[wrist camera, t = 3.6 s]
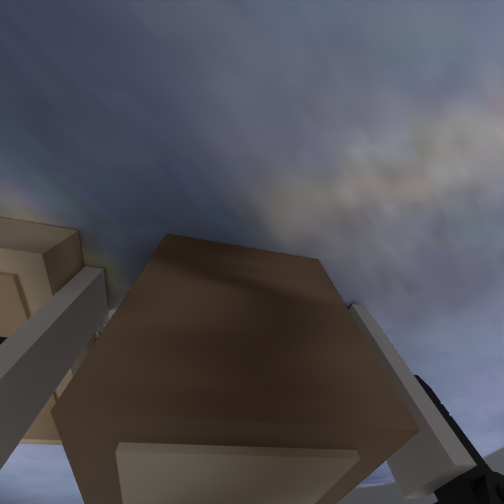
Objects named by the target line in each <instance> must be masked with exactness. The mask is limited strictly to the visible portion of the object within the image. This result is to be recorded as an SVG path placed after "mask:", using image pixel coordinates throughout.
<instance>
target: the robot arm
mask: <svg viewBox="0 0 504 504" xmlns="http://www.w3.org/2000/svg"><path fill="white" fill-rule="evenodd" d="M349 311H350V313H351V315H352V316H353V318H354V320H355V321H356V323H357V325H358V326H359V328H360V330H361V331H362V333H363V335H364V336H365V338H366V340H367V341H368V343H369V345H370V346H371V348H372V350H373V351H374V353H375V355H376V356H377V358H378V360H379V361H380V363H381V365H382V366H383V368H384V370H385V371H386V373H387V375H388V376H389V378H390V380H391V381H392V383H393V385H394V386H395V388H396V390H397V391H398V393H399V395H400V396H401V398H402V400H403V401H404V403H405V405H406V406H407V408H408V410H409V411H410V413H411V415H412V416H413V418H414V420H415V421H416V423H417V425H418V426H419V428H420V431H419V432H418V433H417V434H416V435H415V436H413V437H412V438H411V439H410V440H409V441H408V442H407V443H405V444H404V445H403V446H402V447H401V448H400V449H398V450H397V451H396V452H395V453H394V454H393V455H392V456H390V457H389V458H388V459H387V460H386V461H387V463H388V465H389V467H390V470H391V472H392V474H393V476H394V479H395V481H396V483H397V485H398V488H399V490H400V492H401V494H402V497H403V499H423V498H425V497H426V496H428V495H430V494H431V493H433V492H434V494H435V495H436V497H437V499H438V501H437V502H436V503H434V504H504V476H503V475H501V474H500V473H498V472H493V471H492V470H491V469H490V468H489V466H488V465H487V464H486V463H485V461H484V460H483V459H482V457H481V456H480V455H479V453H478V452H477V450H476V449H475V448H474V446H473V445H472V444H471V442H470V441H469V440H468V438H467V437H466V435H465V434H464V433H463V431H462V430H461V429H460V427H459V426H458V425H457V423H456V422H455V420H454V419H453V418H452V416H450V415H449V412H448V411H447V410H446V408H445V407H444V405H443V404H441V403H440V402H441V401H440V400H439V399H438V397H437V396H436V395H435V393H434V392H433V390H432V389H431V388H430V387H429V386H428V385H427V384H426V383H425V382H424V381H423V380H422V379H421V378H420V377H419V376H418V375H413V374H412V372H411V371H410V369H409V368H408V366H407V365H406V364H405V362H404V361H403V359H402V358H401V356H400V355H399V354H398V352H397V351H396V349H395V348H394V346H393V345H392V344H391V342H390V341H389V339H388V338H387V337H386V335H385V334H384V332H383V331H382V329H381V328H380V327H379V325H378V324H377V322H376V321H375V319H374V318H373V317H372V315H371V314H370V312H369V311H368V309H367V308H366V307H365V306H363V305H356V304H352V305H351V307H350V309H349ZM108 313H109V312H108V303H107V294H106V284H105V275H104V269H102V268H95V267H88V266H85V267H84V268H83V269H82V270H81V271H80V272H79V273H78V274H76V275H75V276H74V277H73V278H72V279H71V280H70V281H69V282H68V283H67V284H66V285H65V286H63V287H62V288H61V289H60V290H59V291H58V292H57V293H56V294H55V295H54V296H53V297H52V298H50V299H49V300H48V301H47V302H46V303H45V304H44V305H43V306H42V307H41V308H40V309H39V310H37V311H36V312H35V313H34V314H33V315H32V316H31V317H30V318H29V319H28V320H27V321H26V322H24V323H23V324H22V325H21V326H20V327H19V328H18V329H17V330H16V331H15V332H14V333H13V334H11V335H10V336H9V337H0V470H1V468H2V467H3V465H4V464H5V462H6V461H7V459H8V458H9V457H10V455H11V454H12V452H13V451H14V449H15V448H16V446H17V445H18V444H19V442H20V441H21V439H22V438H23V436H24V435H25V433H26V432H27V430H28V429H29V428H30V426H31V425H32V423H33V422H34V420H35V419H36V417H37V416H38V415H39V413H40V412H41V410H42V409H43V407H44V406H45V404H46V403H47V401H48V400H49V399H50V397H51V396H52V394H53V393H54V391H55V390H56V388H57V387H58V386H59V384H60V383H61V381H62V380H63V378H64V377H65V375H66V374H67V373H68V371H69V370H70V368H71V367H72V365H73V364H74V362H75V361H76V359H77V358H78V357H79V355H80V354H81V352H82V351H83V349H84V348H85V346H86V345H87V344H88V342H89V341H90V339H91V338H92V336H93V335H94V333H95V332H96V330H97V329H98V328H99V326H100V325H101V323H102V322H103V320H104V319H105V317H106V316H107V315H108Z"/></svg>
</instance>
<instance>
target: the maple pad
mask: <svg viewBox="0 0 504 504" xmlns="http://www.w3.org/2000/svg"><path fill="white" fill-rule="evenodd" d="M83 268H84V263H83V257H82V250H81V244H80V237H79V231H78V230H74V229H68V228H62V227H56V226H49V225H43V224H37V223H31V222H25V221H19V220H13V219H6V218H0V337H9V336H10V335H11V334H13V333H14V332H15V331H16V330H17V329H18V328H19V327H20V326H21V325H22V324H23V323H24V322H26V321H27V320H28V319H29V318H30V317H31V316H32V315H33V314H34V313H35V312H36V311H37V310H39V309H40V308H41V307H42V306H43V305H44V304H45V303H46V302H47V301H48V300H49V299H50V298H52V297H53V296H54V295H55V294H56V293H57V292H58V291H59V290H60V289H61V288H62V287H63V286H65V285H66V284H67V283H68V282H69V281H70V280H71V279H72V278H73V277H74V276H75V275H76V274H78V273H79V272H80V271H81V270H82V269H83ZM95 342H96V341H95V334H94V335H93V336H92V338H91V339H90V341H89V342H88V344H87V345H86V346H85V348H84V349H83V351H82V352H81V354H80V355H79V357H78V358H77V359H76V361H75V362H74V364H73V365H72V367H71V368H70V370H69V371H68V373H67V374H66V375H65V377H64V378H63V380H62V381H61V383H60V384H59V386H58V387H57V388H56V390H55V391H54V393H53V394H52V396H51V397H50V399H49V400H48V401H47V403H46V404H45V406H44V407H43V409H42V410H41V412H40V413H39V415H38V416H37V417H36V419H35V420H34V422H33V423H32V425H31V426H30V428H29V429H28V430H27V432H26V433H25V435H24V436H23V438H22V439H21V441H20V442H19V444H53V445H63V444H62V442H61V439H60V436H59V434H58V431H57V428H56V426H55V423H54V420H53V417H52V415H51V412H50V411H51V409H52V408H53V406H54V405H55V403H56V402H57V400H58V399H59V397H60V396H61V394H62V393H63V391H64V390H65V388H66V387H67V385H68V384H69V382H70V380H71V379H72V377H73V376H74V374H75V373H76V371H77V370H78V368H79V367H80V365H81V364H82V362H83V361H84V359H85V358H86V356H87V355H88V353H89V351H90V350H91V348H92V347H93V345H94V344H95Z"/></svg>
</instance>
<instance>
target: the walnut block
mask: <svg viewBox="0 0 504 504" xmlns="http://www.w3.org/2000/svg"><path fill="white" fill-rule="evenodd" d="M50 412H51V415H52V417H53V420H54V423H55V426H56V428H57V431H58V434H59V436H60V439H61V442H62V444H63V447H64V450H65V452H66V455H67V458H68V460H69V463H70V466H71V468H72V471H73V474H74V476H75V479H76V482H77V485H78V487H79V490H80V493H81V495H82V498H83V501H84V503H85V504H336V503H337V502H339V501H340V500H341V499H342V498H343V497H344V496H346V495H347V494H348V493H349V492H350V491H351V490H352V489H354V488H355V487H356V486H357V485H358V484H359V483H361V482H362V481H363V480H364V479H365V478H366V477H367V476H369V475H370V474H371V473H372V472H373V471H374V470H375V469H377V468H378V467H379V466H380V465H381V464H382V463H384V462H385V461H386V460H387V459H388V458H389V457H390V456H392V455H393V454H394V453H395V452H396V451H397V450H398V449H400V448H401V447H402V446H403V445H404V444H405V443H407V442H408V441H409V440H410V439H411V438H412V437H413V436H415V435H416V434H417V433H418V432H419V431H420V428H419V426H418V425H417V423H416V421H415V420H414V418H413V416H412V415H411V413H410V411H409V410H408V408H407V406H406V405H405V403H404V401H403V400H402V398H401V396H400V395H399V393H398V391H397V390H396V388H395V386H394V385H393V383H392V381H391V380H390V378H389V376H388V375H387V373H386V371H385V370H384V368H383V366H382V365H381V363H380V361H379V360H378V358H377V356H376V355H375V353H374V351H373V350H372V348H371V346H370V345H369V343H368V341H367V340H366V338H365V336H364V335H363V333H362V331H361V330H360V328H359V326H358V325H357V323H356V321H355V320H354V318H353V316H352V315H351V313H350V311H349V310H348V308H347V306H346V305H345V303H344V301H343V300H342V298H341V296H340V295H339V293H338V291H337V290H336V288H335V286H334V285H333V283H332V282H331V280H330V278H329V277H328V275H327V273H326V272H325V270H324V268H323V267H322V265H321V263H320V262H319V260H318V259H312V258H306V257H300V256H294V255H289V254H283V253H277V252H271V251H265V250H259V249H253V248H247V247H242V246H236V245H230V244H224V243H218V242H212V241H206V240H201V239H195V238H189V237H183V236H177V235H171V234H166V235H165V237H164V239H163V240H162V242H161V243H160V245H159V246H158V248H157V249H156V251H155V252H154V254H153V255H152V257H151V258H150V260H149V261H148V263H147V264H146V266H145V268H144V269H143V271H142V272H141V274H140V275H139V277H138V278H137V280H136V281H135V283H134V284H133V286H132V287H131V289H130V290H129V292H128V293H127V295H126V297H125V298H124V300H123V301H122V303H121V304H120V306H119V307H118V309H117V310H116V312H115V313H114V315H113V316H112V318H111V319H110V321H109V322H108V324H107V326H106V327H105V329H104V330H103V332H102V333H101V335H100V336H99V338H98V339H97V341H96V342H95V344H94V345H93V347H92V348H91V350H90V351H89V353H88V355H87V356H86V358H85V359H84V361H83V362H82V364H81V365H80V367H79V368H78V370H77V371H76V373H75V374H74V376H73V377H72V379H71V380H70V382H69V384H68V385H67V387H66V388H65V390H64V391H63V393H62V394H61V396H60V397H59V399H58V400H57V402H56V403H55V405H54V406H53V408H52V409H51V411H50Z"/></svg>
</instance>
